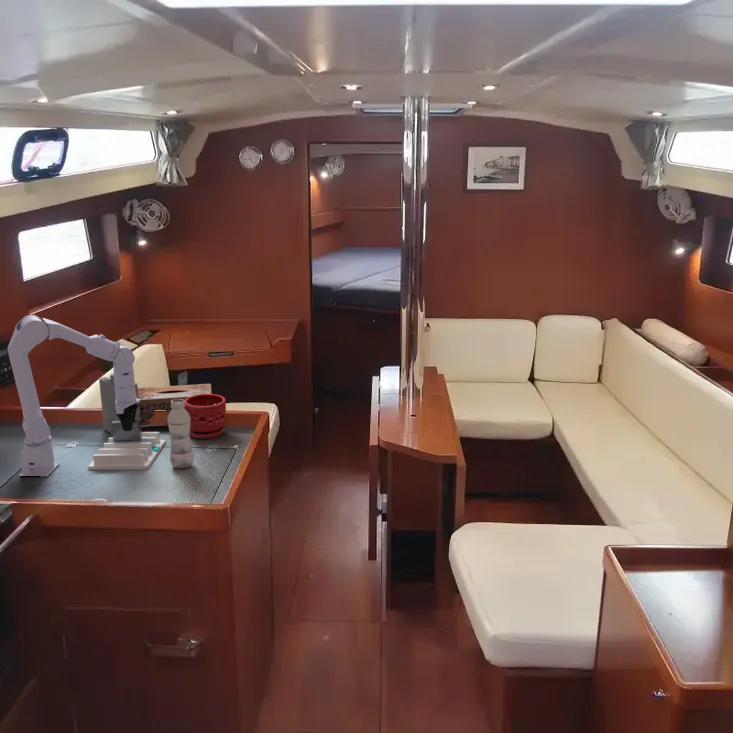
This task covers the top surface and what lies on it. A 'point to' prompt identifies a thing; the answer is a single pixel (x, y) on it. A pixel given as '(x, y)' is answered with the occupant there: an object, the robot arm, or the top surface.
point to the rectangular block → (126, 432)
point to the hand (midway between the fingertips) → (128, 429)
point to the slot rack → (128, 453)
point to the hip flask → (111, 402)
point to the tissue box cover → (166, 398)
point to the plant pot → (206, 415)
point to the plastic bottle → (180, 435)
